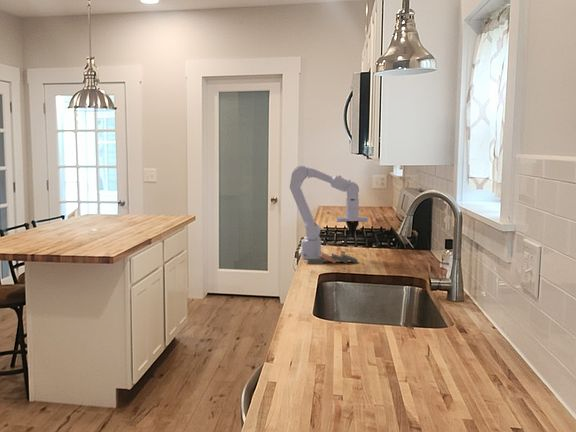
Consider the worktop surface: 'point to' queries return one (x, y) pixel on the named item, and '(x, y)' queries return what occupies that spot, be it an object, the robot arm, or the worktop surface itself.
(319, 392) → the worktop surface
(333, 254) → the charcoal tile
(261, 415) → the worktop surface
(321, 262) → the charcoal tile
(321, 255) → the brick tile
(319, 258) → the charcoal tile
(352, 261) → the charcoal tile
